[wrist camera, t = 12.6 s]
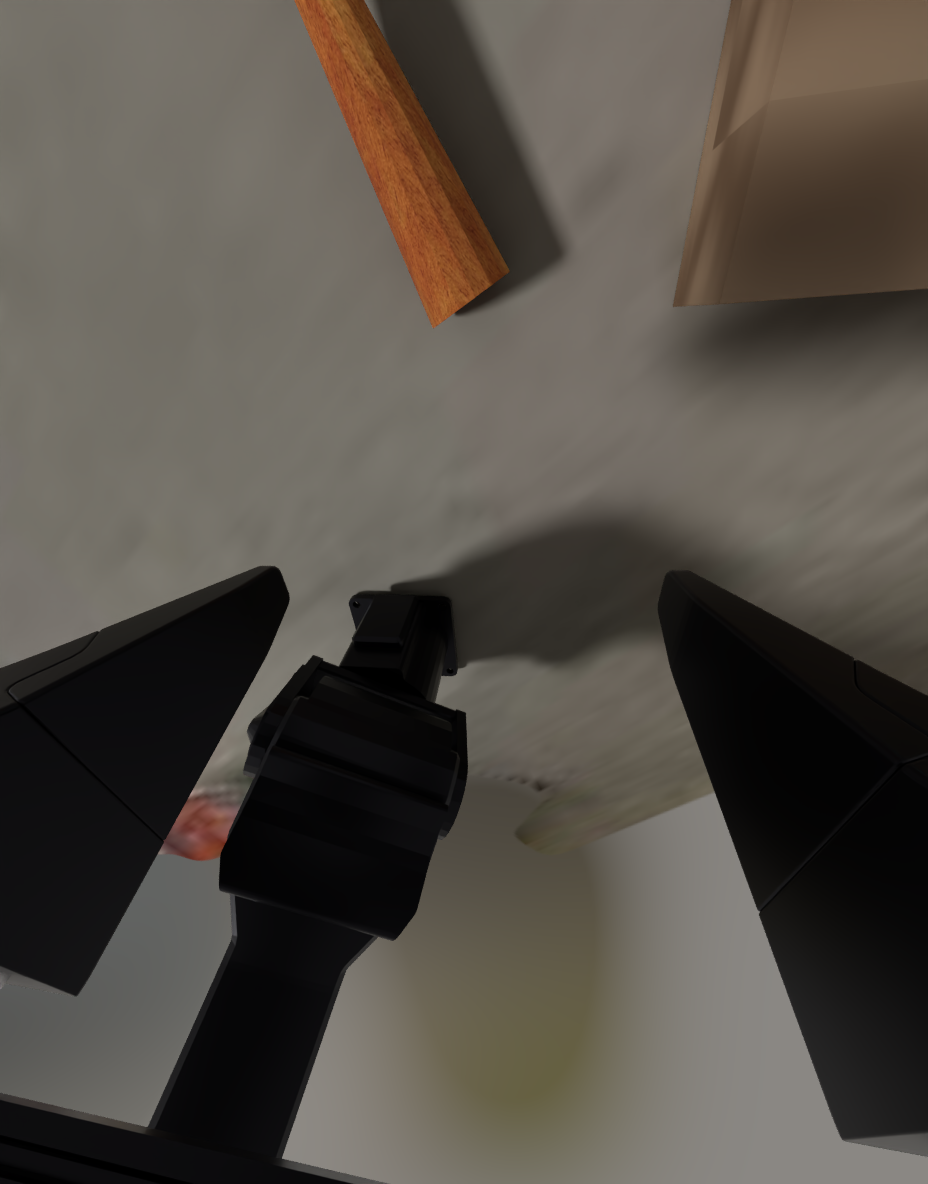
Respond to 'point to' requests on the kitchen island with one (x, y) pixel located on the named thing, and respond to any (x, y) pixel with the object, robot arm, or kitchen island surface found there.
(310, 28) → the wooden maraca
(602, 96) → the kitchen island surface
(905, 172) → the hole block
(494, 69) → the kitchen island surface
